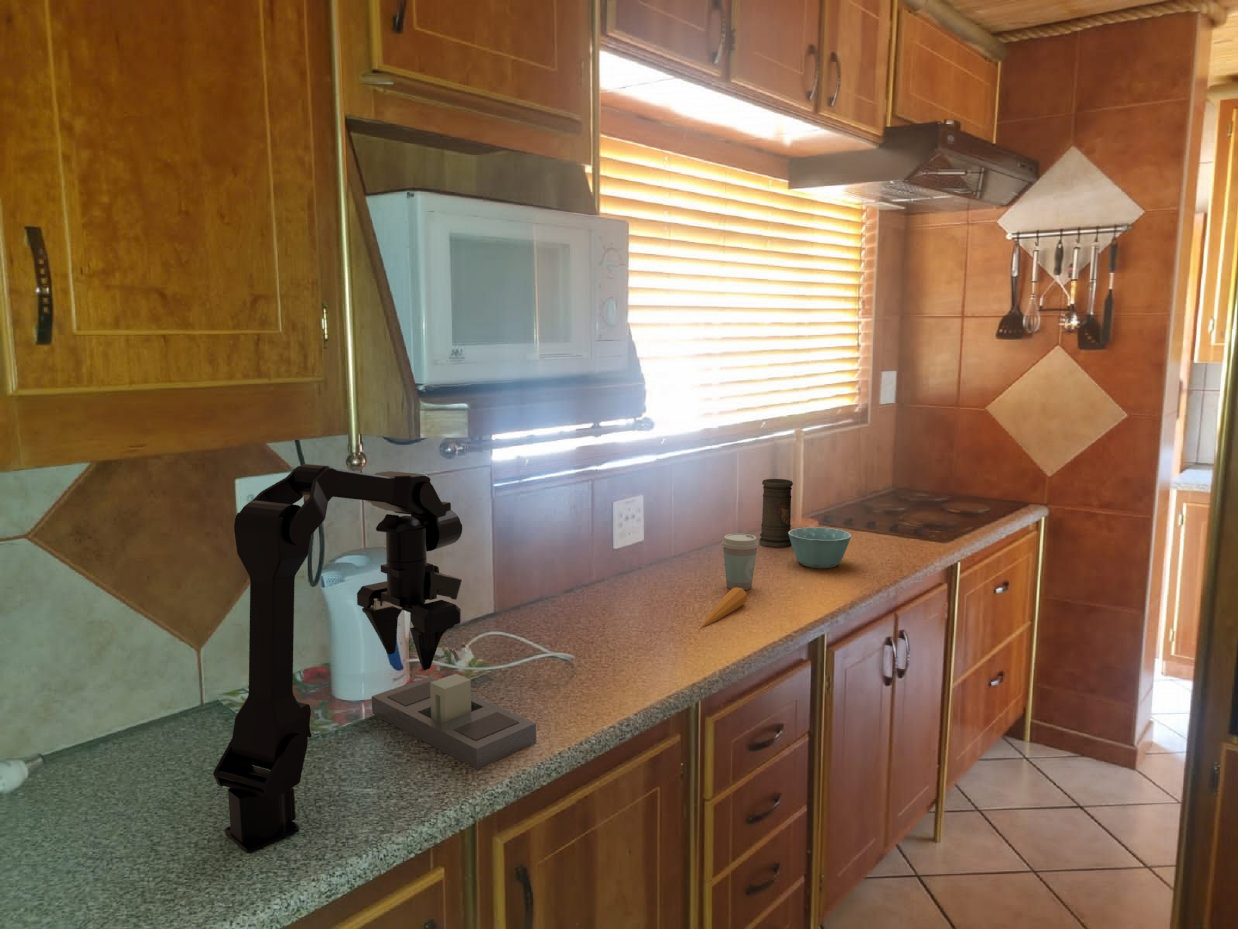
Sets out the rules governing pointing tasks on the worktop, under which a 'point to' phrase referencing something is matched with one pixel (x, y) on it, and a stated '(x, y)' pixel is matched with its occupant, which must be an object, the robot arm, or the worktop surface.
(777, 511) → the container
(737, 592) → the carrot
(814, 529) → the bowl
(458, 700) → the beige slotted block
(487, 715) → the grey slotted tray
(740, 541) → the coffee cup
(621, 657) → the worktop surface
